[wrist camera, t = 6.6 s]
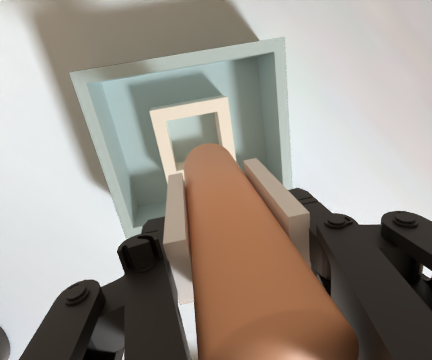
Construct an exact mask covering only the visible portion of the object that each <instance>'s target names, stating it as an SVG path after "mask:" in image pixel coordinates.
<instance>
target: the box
mask: <svg viewBox="0 0 432 360" xmlns="http://www.w3.org/2000/svg"><path fill="white" fill-rule="evenodd" d="M69 74H70V77H71V80H72V83H73V86H74V89H75V91H76V94H77V97H78V100H79V103H80V106H81V109H82V112H83V115H84V118H85V121H86V123H87V126H88V129H89V132H90V135H91V138H92V141H93V144H94V147H95V150H96V152H97V155H98V158H99V161H100V164H101V167H102V170H103V173H104V176H105V179H106V182H107V184H108V187H109V190H110V193H111V196H112V199H113V202H114V205H115V208H116V211H117V213H118V216H119V219H120V222H121V225H122V228H123V231H124V234H125V237H126V238H130V237H133V236H135V235H138V234H141V231H142V227H143V225H144V224H145V223H146V222H147V221H148V220H150V219H155V218H159V217H164V216H165V212H166V200H167V188H168V176H169V175H173V174H178V173H182V175H183V180H184V184H185V178H184V163H185V159H186V157H187V155H188V154H189V153H190V152H191V151H192V150H193V149H194V148H195V147H197V146H199V145H201V144H206V143H214V144H218V145H221V146H223V147H224V148H226V149H227V150H228V151H229V152H230V154H231V155H232V157H233V158H234V160H235V161H236V162H237V164H238V165H239V167H240V168H241V170H242V171H243V172H244V174H245V170H244V162H243V161H244V160H249V159H254V158H257V159H258V160H259V161H260V162H261V163H262V164H263V165H264V166H265V167H266V168H267V170H268V171H269V172H270V173H271V174H272V175H273V176H274V177H275V178H276V179H277V180H278V181H279V182H280V183H281V184H282V185H283V186H284V187H285V188H286V189H287V190H290V189H293V187H292V168H291V149H290V130H289V110H288V91H287V72H286V53H285V37H280V38H274V39H268V40H262V41H256V42H250V43H244V44H238V45H232V46H226V47H220V48H214V49H207V50H201V51H195V52H189V53H183V54H177V55H171V56H165V57H159V58H153V59H147V60H141V61H135V62H128V63H122V64H116V65H110V66H104V67H98V68H92V69H86V70H80V71H74V72H69Z"/></svg>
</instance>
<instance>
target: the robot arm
mask: <svg viewBox="0 0 432 360" xmlns="http://www.w3.org/2000/svg"><path fill="white" fill-rule="evenodd" d="M243 162H244V170H245V175H246V177H247V178H248V180H249V181H250V183H251V184H252V185H253V187H254V188H255V190H256V191H257V193H258V194H259V195H260V197H261V198H262V200H263V201H264V203H265V204H266V205H267V207H268V208H269V210H270V211H271V213H272V214H273V215H274V217H275V218H276V220H277V221H278V223H279V224H280V225H281V227H282V228H283V230H284V231H285V233H286V234H287V235H288V237H289V238H290V240H291V241H292V243H293V244H294V246H295V247H296V248H297V250H298V251H299V253H300V254H301V256H302V257H303V258H304V260H305V261H306V263H307V264H308V266H309V267H310V268H311V263H312V265H313V266H314V267H315V269H316V270H317V278H318V280H319V281H320V283H321V284H322V286H323V287H324V288H325V290H326V291H327V293H328V294H329V296H330V297H331V298H332V300H333V301H334V303H335V304H336V306H337V307H338V309H339V310H340V311H341V313H342V314H343V316H344V317H345V319H346V320H347V321H348V323H349V324H350V326H351V327H352V329H353V330H354V331H355V334H356V336H357V338H358V343H359V355H358V360H432V278H429V277H427V276H425V275H424V274H423V273H422V271H423V265H424V266H425V267H427V268H428V269H430V270H431V271H432V221H430V220H428V219H426V218H424V217H422V216H420V215H417V214H414V213H410V212H406V211H394V212H388V213H386V214H384V215H383V216H382V218H381V225H359V224H358V223H357V222H356V221H355V220H354V219H353V218H351V217H349V216H347V215H343V214H338V213H331V212H330V211H329V210H328V209H327V208H326V207H325V206H323V205H322V204H321V203H320V202H318V200H317V199H315V198H313V196H312V195H311V194H310V193H309V192H307V191H305V190H302V189H300V188H295V189H290V190H287V189H286V188H285V187H284V186H283V185H282V184H281V183H280V182H279V181H278V180H277V179H276V178H275V177H274V176H273V175H272V174H271V173H270V172H269V171H268V170H267V168H266V167H265V166H264V165H263V164H262V163H261V162H260V161H259V160H258V159H257V158H254V159H249V160H244V161H243ZM117 253H118V256H119V259H120V261H121V264H122V267H123V269H124V272H125V275H124V276H122V277H121V278H119V279H118V280H116V281H114V282H111V283H109V284H107V285H105V286H102V287H100V285H99V283H98V282H97V281H95V280H84V281H80V282H77V283H75V284H73V285H71V286H70V287H68V288H67V289H66V290H64V291H63V292H62V293H61V294H60V295H59V296H58V297H57V299H56V300H55V302H54V303H53V305H52V306H51V308H50V310H49V311H48V313H47V315H46V316H45V318H44V320H43V321H42V323H41V324H40V326H39V328H38V329H37V331H36V333H35V334H34V336H33V338H32V339H31V341H30V342H29V344H28V346H27V347H26V349H25V351H24V352H23V354H22V356H21V357H20V359H19V360H122V356H123V352H124V360H191V356H190V352H189V348H188V344H187V340H186V336H185V331H184V327H183V323H182V319H181V315H180V312H179V308H178V299H179V303H180V305H182V304H186V303H191V302H194V295H193V282H192V269H191V252H190V239H189V227H188V214H187V201H186V189H185V184H184V180H183V175H182V173H178V174H173V175H169V176H168V188H167V200H166V212H165V216H164V217H159V218H155V219H150V220H148V221H147V222H146V223H145V224H144V225H143V227H142V231H141V234H138V235H135V236H133V237H130V238H129V239H127V240H125V241H124V242H123V243H122V244H121V245H120V246H119V247H118V250H117ZM9 355H10V344H9V340H8V338H7V336H6V334H5V333H4V331H3V330H2V329H1V328H0V360H8V358H9Z"/></svg>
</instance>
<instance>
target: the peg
mask: <svg viewBox="0 0 432 360" xmlns="http://www.w3.org/2000/svg"><path fill="white" fill-rule="evenodd" d="M184 178H185V189H186V201H187V214H188V227H189V239H190V252H191V269H192V282H193V295H194V308H195V321H196V334H197V347H198V360H358V355H359V343H358V338H357V336H356V334H355V331H354V330H353V329H352V327H351V326H350V324H349V323H348V321H347V320H346V319H345V317H344V316H343V314H342V313H341V311H340V310H339V309H338V307H337V306H336V304H335V303H334V301H333V300H332V298H331V297H330V296H329V294H328V293H327V291H326V290H325V288H324V287H323V286H322V284H321V283H320V281H319V280H318V278H317V277H316V276H315V274H314V273H313V271H312V270H311V268H310V267H309V266H308V264H307V263H306V261H305V260H304V258H303V257H302V256H301V254H300V253H299V251H298V250H297V248H296V247H295V246H294V244H293V243H292V241H291V240H290V238H289V237H288V235H287V234H286V233H285V231H284V230H283V228H282V227H281V225H280V224H279V223H278V221H277V220H276V218H275V217H274V215H273V214H272V213H271V211H270V210H269V208H268V207H267V205H266V204H265V203H264V201H263V200H262V198H261V197H260V195H259V194H258V193H257V191H256V190H255V188H254V187H253V185H252V184H251V183H250V181H249V180H248V178H247V177H246V175H245V174H244V172H243V171H242V170H241V168H240V167H239V165H238V164H237V162H236V161H235V160H234V158H233V157H232V155H231V154H230V152H229V151H228V150H227V149H226V148H224V147H223V146H221V145H218V144H214V143H206V144H201V145H199V146H197V147H195V148H194V149H193V150H192V151H191V152H190V153H189V154H188V155H187V157H186V159H185V163H184Z"/></svg>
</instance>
